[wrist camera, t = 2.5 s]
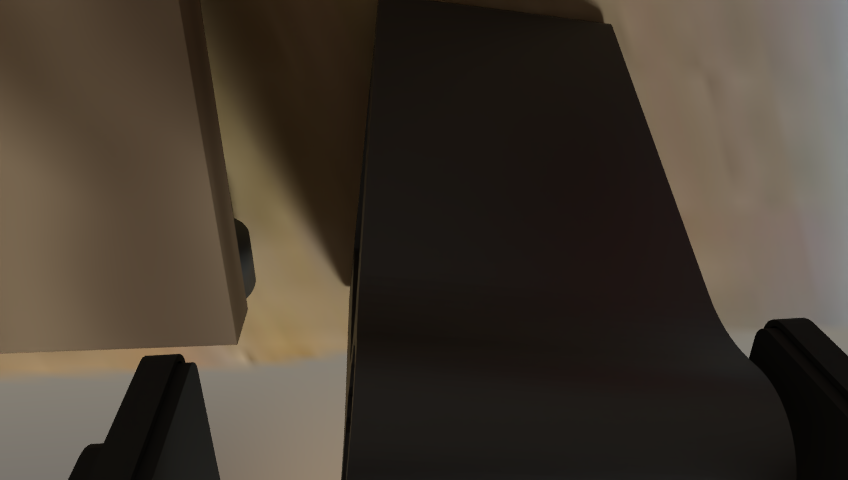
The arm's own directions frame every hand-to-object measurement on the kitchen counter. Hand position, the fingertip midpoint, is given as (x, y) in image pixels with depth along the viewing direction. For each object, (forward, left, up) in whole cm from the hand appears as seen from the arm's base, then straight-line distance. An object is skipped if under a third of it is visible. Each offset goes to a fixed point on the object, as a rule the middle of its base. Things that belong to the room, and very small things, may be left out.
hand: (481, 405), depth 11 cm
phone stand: (-1, 0, -10) cm, 10 cm away
